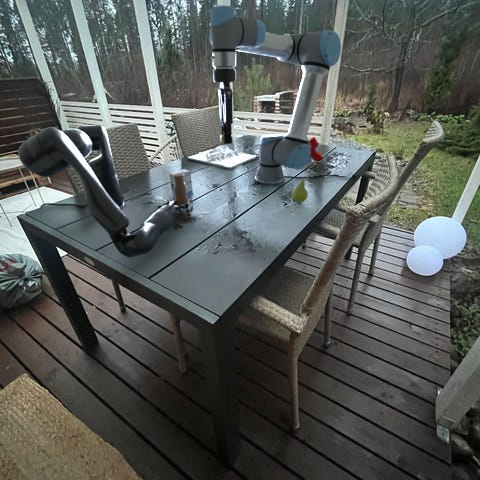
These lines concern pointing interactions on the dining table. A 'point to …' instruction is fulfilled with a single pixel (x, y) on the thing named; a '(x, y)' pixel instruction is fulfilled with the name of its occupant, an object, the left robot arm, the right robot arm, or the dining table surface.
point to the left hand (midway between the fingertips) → (185, 200)
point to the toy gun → (314, 153)
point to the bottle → (180, 192)
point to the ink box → (186, 179)
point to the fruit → (300, 192)
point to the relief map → (223, 157)
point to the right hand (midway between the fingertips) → (226, 141)
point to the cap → (223, 138)
